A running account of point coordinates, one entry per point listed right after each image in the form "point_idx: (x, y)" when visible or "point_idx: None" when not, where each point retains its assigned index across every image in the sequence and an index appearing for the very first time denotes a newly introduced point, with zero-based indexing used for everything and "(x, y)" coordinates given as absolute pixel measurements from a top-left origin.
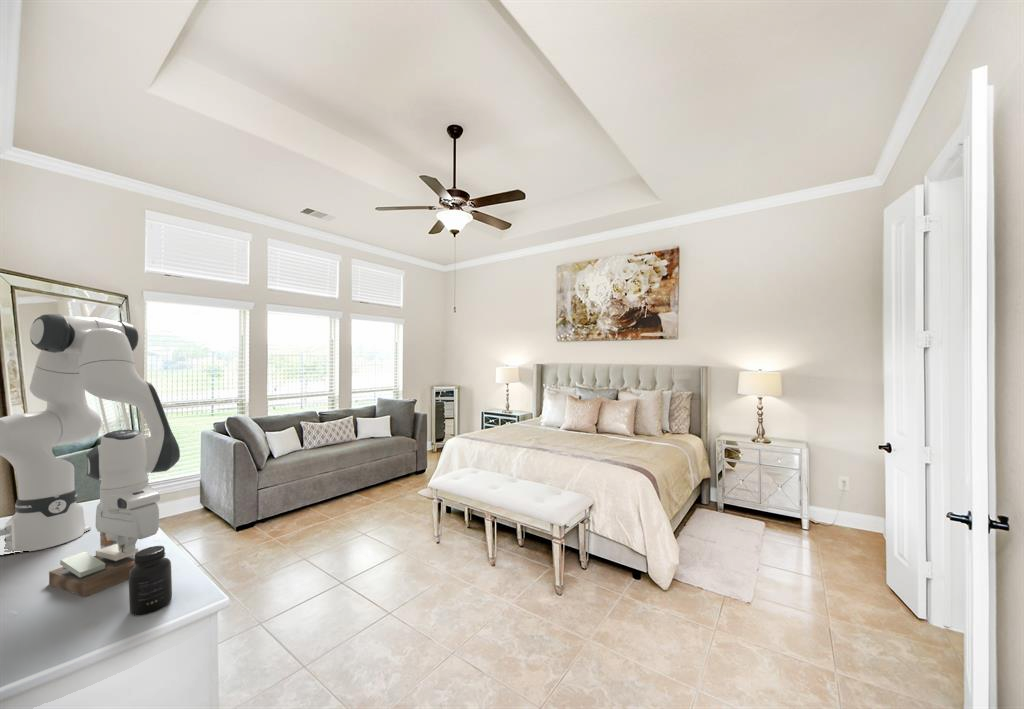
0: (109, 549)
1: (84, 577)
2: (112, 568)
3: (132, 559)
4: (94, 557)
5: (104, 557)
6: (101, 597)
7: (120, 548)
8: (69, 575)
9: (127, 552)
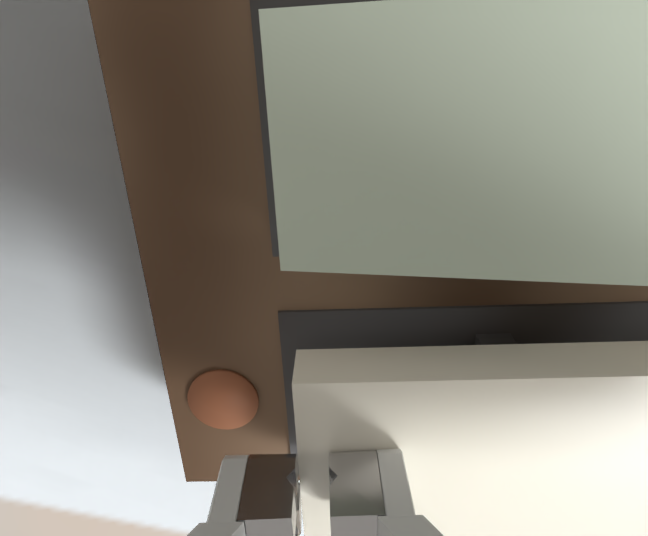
0: (615, 441)
1: None
2: (265, 285)
3: None
4: (533, 273)
5: (538, 346)
6: (11, 71)
7: (357, 483)
8: None
9: (225, 464)
